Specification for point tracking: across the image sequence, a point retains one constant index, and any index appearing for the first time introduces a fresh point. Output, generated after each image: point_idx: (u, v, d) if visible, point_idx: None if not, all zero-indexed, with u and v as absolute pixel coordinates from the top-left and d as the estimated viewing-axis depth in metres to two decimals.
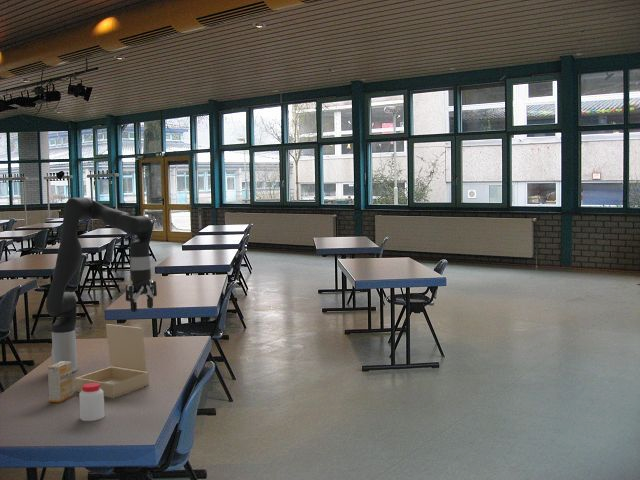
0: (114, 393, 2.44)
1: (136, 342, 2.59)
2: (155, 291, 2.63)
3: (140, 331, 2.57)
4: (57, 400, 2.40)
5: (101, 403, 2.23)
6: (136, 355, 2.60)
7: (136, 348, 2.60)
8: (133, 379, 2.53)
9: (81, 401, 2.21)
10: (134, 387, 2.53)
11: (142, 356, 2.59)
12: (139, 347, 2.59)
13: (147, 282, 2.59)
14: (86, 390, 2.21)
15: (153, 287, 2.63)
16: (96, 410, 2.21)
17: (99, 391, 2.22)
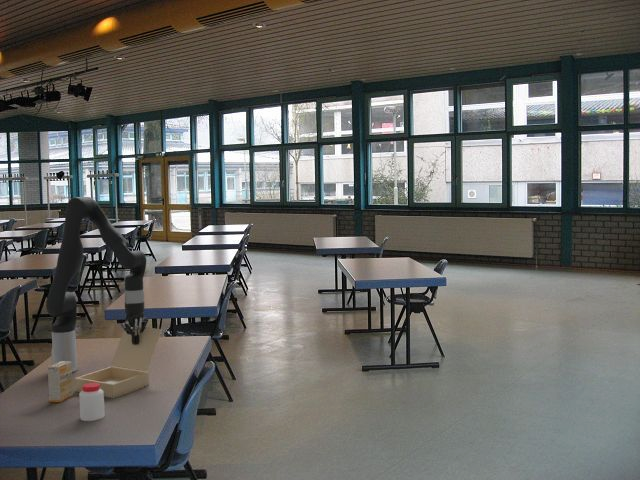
0: (114, 393, 2.44)
1: (149, 342, 2.65)
2: (143, 328, 2.69)
3: (158, 331, 2.66)
4: (57, 400, 2.40)
5: (101, 403, 2.23)
6: (143, 355, 2.64)
7: (146, 348, 2.64)
8: (133, 379, 2.53)
9: (81, 401, 2.21)
10: (134, 387, 2.53)
11: (149, 355, 2.62)
12: (150, 347, 2.64)
13: (142, 313, 2.68)
14: (86, 390, 2.21)
15: (143, 323, 2.70)
16: (96, 410, 2.21)
17: (99, 391, 2.22)
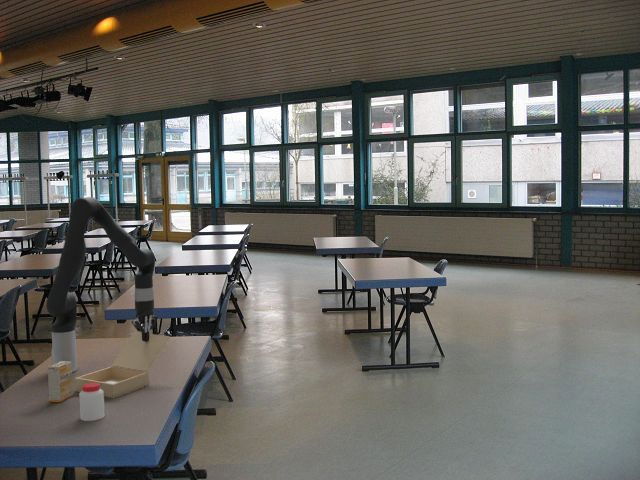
0: (114, 393, 2.44)
1: (155, 346, 2.68)
2: (153, 325, 2.74)
3: (166, 338, 2.70)
4: (57, 400, 2.40)
5: (101, 403, 2.23)
6: (146, 357, 2.65)
7: (151, 351, 2.67)
8: (133, 379, 2.53)
9: (81, 401, 2.21)
10: (134, 387, 2.53)
11: (152, 358, 2.63)
12: (155, 350, 2.66)
13: (152, 311, 2.73)
14: (86, 390, 2.21)
15: (153, 320, 2.74)
16: (96, 410, 2.21)
17: (99, 391, 2.22)
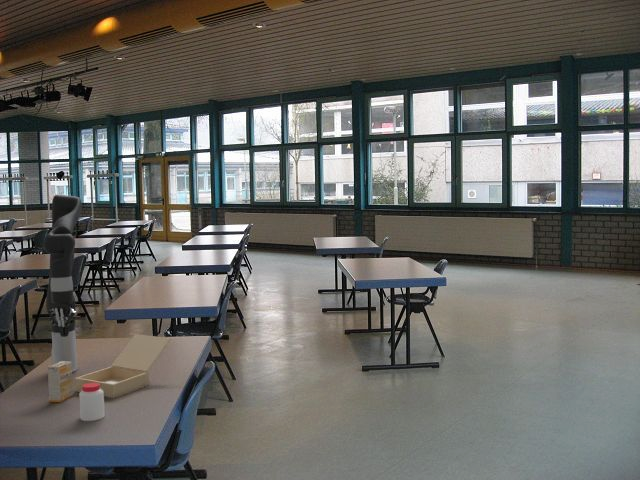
0: (114, 393, 2.44)
1: (156, 348, 2.68)
2: (67, 321, 2.41)
3: (167, 340, 2.70)
4: (57, 400, 2.40)
5: (101, 403, 2.23)
6: (146, 358, 2.65)
7: (152, 352, 2.67)
8: (133, 379, 2.53)
9: (81, 401, 2.21)
10: (134, 387, 2.53)
11: (153, 358, 2.64)
12: (155, 352, 2.67)
13: (66, 305, 2.41)
14: (86, 390, 2.21)
15: None
16: (96, 410, 2.21)
17: (99, 391, 2.22)
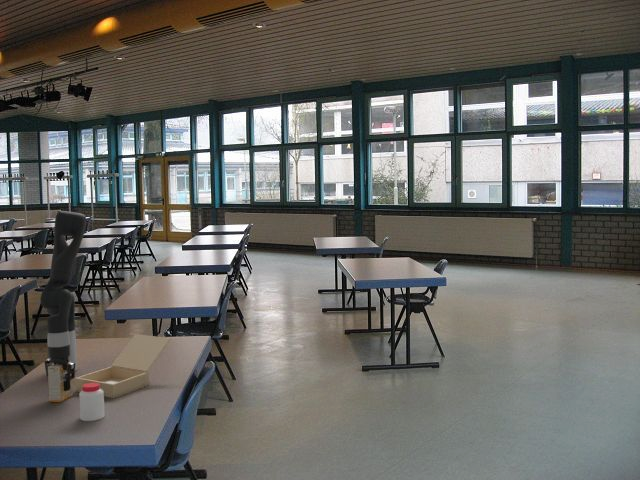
0: (114, 393, 2.44)
1: (156, 348, 2.68)
2: (68, 375, 2.40)
3: (167, 340, 2.70)
4: (57, 400, 2.40)
5: (101, 403, 2.23)
6: (146, 358, 2.65)
7: (152, 352, 2.67)
8: (133, 379, 2.53)
9: (81, 401, 2.21)
10: (134, 387, 2.53)
11: (153, 358, 2.64)
12: (155, 352, 2.67)
13: (61, 360, 2.41)
14: (86, 390, 2.21)
15: None
16: (96, 410, 2.21)
17: (99, 391, 2.22)
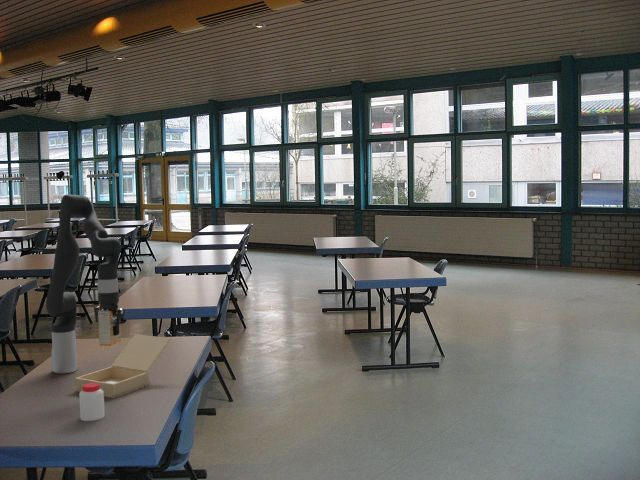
0: (114, 393, 2.44)
1: (156, 348, 2.68)
2: (117, 319, 2.51)
3: (167, 340, 2.70)
4: (107, 344, 2.51)
5: (101, 403, 2.22)
6: (146, 358, 2.65)
7: (152, 352, 2.67)
8: (133, 379, 2.53)
9: (81, 401, 2.21)
10: (134, 387, 2.53)
11: (153, 358, 2.64)
12: (155, 352, 2.67)
13: (111, 306, 2.52)
14: (86, 390, 2.21)
15: None
16: (96, 410, 2.21)
17: (99, 391, 2.22)
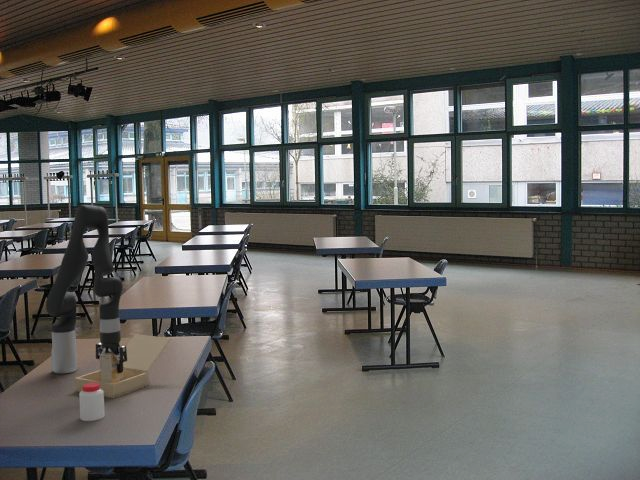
0: (114, 393, 2.44)
1: (156, 348, 2.68)
2: (121, 357, 2.52)
3: (167, 340, 2.70)
4: None
5: (101, 403, 2.23)
6: (146, 358, 2.65)
7: (152, 352, 2.67)
8: (133, 379, 2.53)
9: (81, 401, 2.21)
10: (134, 387, 2.53)
11: (153, 358, 2.64)
12: (155, 352, 2.67)
13: (112, 346, 2.54)
14: (86, 390, 2.21)
15: None
16: (96, 410, 2.21)
17: (99, 391, 2.22)
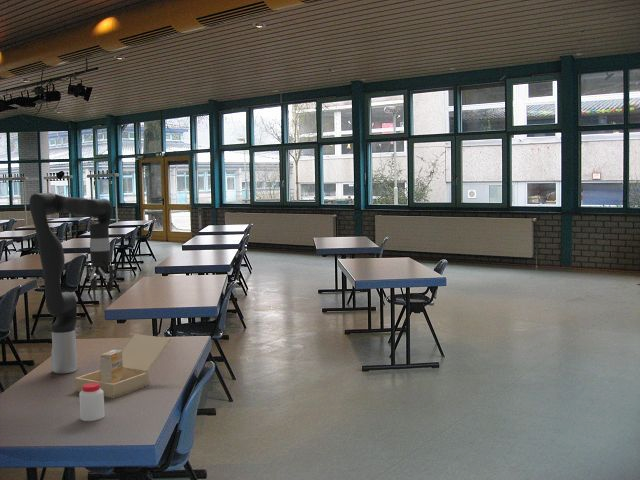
0: (114, 393, 2.44)
1: (156, 348, 2.68)
2: (110, 275, 2.61)
3: (167, 340, 2.70)
4: None
5: (101, 403, 2.22)
6: (146, 358, 2.65)
7: (152, 352, 2.67)
8: (133, 379, 2.53)
9: (81, 401, 2.21)
10: (134, 387, 2.53)
11: (153, 358, 2.64)
12: (155, 352, 2.67)
13: (102, 264, 2.63)
14: (86, 390, 2.21)
15: None
16: (96, 410, 2.21)
17: (99, 391, 2.22)
